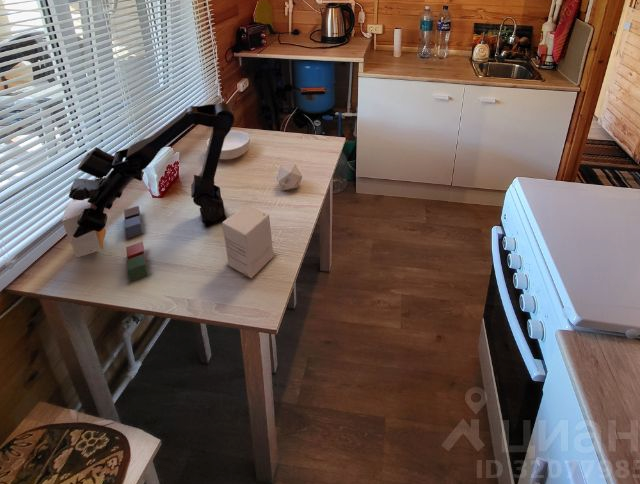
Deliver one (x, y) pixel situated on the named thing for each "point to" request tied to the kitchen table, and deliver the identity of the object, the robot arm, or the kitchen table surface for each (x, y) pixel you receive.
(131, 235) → the slate blue block
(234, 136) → the cereal bowl
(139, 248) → the brick red block
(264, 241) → the rectangular carton
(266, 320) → the kitchen table surface
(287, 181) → the die
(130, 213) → the walnut block
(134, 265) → the dark green block
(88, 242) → the small box
